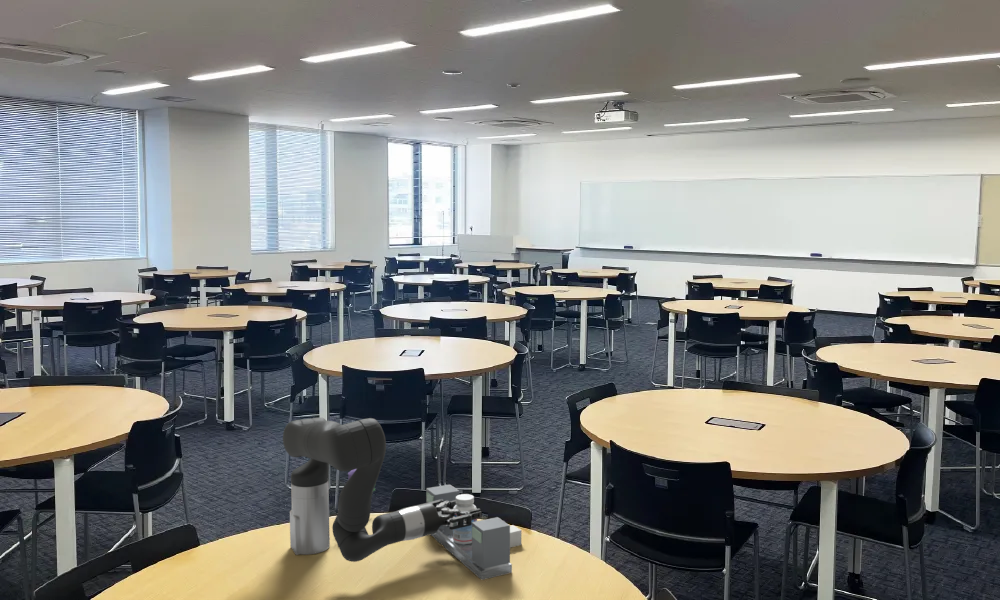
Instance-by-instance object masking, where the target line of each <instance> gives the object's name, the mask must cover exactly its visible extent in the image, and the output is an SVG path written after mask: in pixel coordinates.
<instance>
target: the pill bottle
mask: <svg viewBox="0 0 1000 600" xmlns="http://www.w3.org/2000/svg"><path fill="white" fill-rule="evenodd" d="M455 502H456V504H457V505H455V506H454V508H453V509H459V510H460V511H471V510H474V509H478V508H477V506H476V505H475V504H474V502H475V496H474V495H472V494H469V493H461V494H459V495H457V496H456V501H455ZM460 516H462V515H460ZM455 517H457V514H456V513H455ZM476 521H478V519H474V520H472V522H476ZM453 540H454V542H456V543H458V544H471V543H472V525H470V526H466V527H462V528H458V529H453Z"/></svg>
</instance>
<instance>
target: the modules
mask: <svg viewBox="0 0 1000 600" xmlns="http://www.w3.org/2000/svg"><path fill="white" fill-rule="evenodd" d="M425 494H426V495H425V496H426V497H425V498H426V502H425V503H429V502H432V501H436V500H440V499H442V500H443V502H444V501H449V502H450V501H454V500H456V496H457V495H460V490H459V489H457V488H456V487H454V486H453V485H451V484H445V485H440V486H439V485H437V486H432V487H426V493H425ZM437 505H439V504H436V506H437ZM448 526H449V525H448ZM510 526H511V525H510V524H508V523H507V522H506V521H505V520H502V519H501V518H500V517H498V516H496V517H490V518H487V519H481V520H477V521H476V522H472V560H473V561H475V562H476V563H477V564H478V565H479V566H481V567H482V568H483V569H485V568H490V567H494V566H498V565H502V564H507V563H511V548H510ZM440 527H445V526H442V525H441V526H440ZM440 527H439V528H440Z"/></svg>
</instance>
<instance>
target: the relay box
mask: <svg viewBox="0 0 1000 600" xmlns="http://www.w3.org/2000/svg"><path fill="white" fill-rule="evenodd" d="M519 546H522V529H520V528H518V527H517V526H515V525H514V524H512V525H510V549H511V548H515V547H519Z"/></svg>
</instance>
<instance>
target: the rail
mask: <svg viewBox="0 0 1000 600" xmlns="http://www.w3.org/2000/svg"><path fill="white" fill-rule="evenodd" d="M430 536H431V537H432V536H433V537H434V538H435V539H434V538H433V537H432V538H433V539H434V540H435V541H437V543H439V545H441V546H442V545H443V546H444V547H443V546H442V547H443V548H445V549H446V550H447V551H448V552H449V553H450V554H451V555H453V556H454V557H455V558H456V559H457V560H458V562H461V563H462V565H464V566H465V567H466V568H467V569H469V571H471V572H472V573H473V574H475V576H476V577H477V578H479V579H480V580H486V579H491V578H495V577H499V576H503V575H508V574H512V573H513V571H512V570H513V564H512V563H511V562H510V563H507V564H502V565H498V566H494V567H490V568H485V569H483V568H482V567H481V566H479V565H478V564H477V563H476V562H475V561H473V560H472V543H471V544H458V543H456V542H454V540H453V530H450V529H449V526H445V527H440V528H439V529H438V531H437V532H436V533H435V534H431V535H430Z"/></svg>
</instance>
